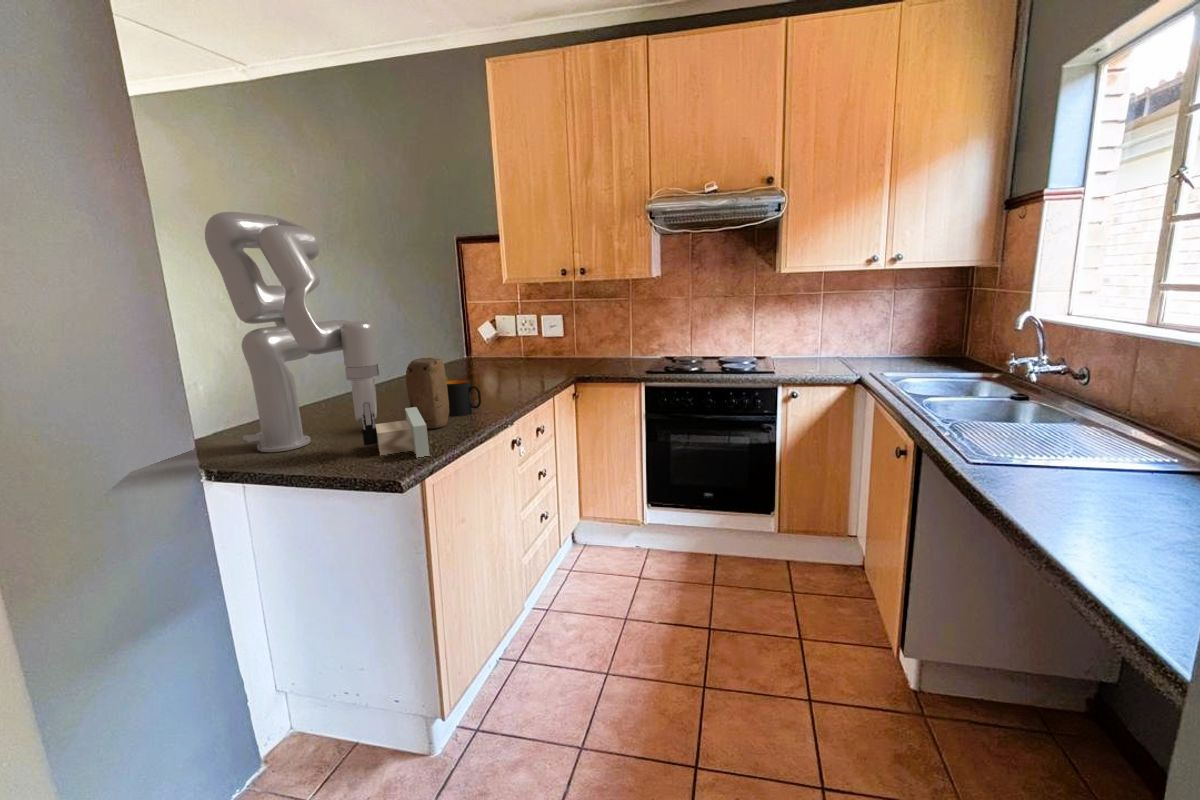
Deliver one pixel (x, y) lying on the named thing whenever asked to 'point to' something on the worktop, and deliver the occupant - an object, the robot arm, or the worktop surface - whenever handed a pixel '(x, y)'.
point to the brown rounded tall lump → (428, 390)
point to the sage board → (418, 432)
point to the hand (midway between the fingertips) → (370, 443)
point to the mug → (461, 397)
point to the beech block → (394, 437)
